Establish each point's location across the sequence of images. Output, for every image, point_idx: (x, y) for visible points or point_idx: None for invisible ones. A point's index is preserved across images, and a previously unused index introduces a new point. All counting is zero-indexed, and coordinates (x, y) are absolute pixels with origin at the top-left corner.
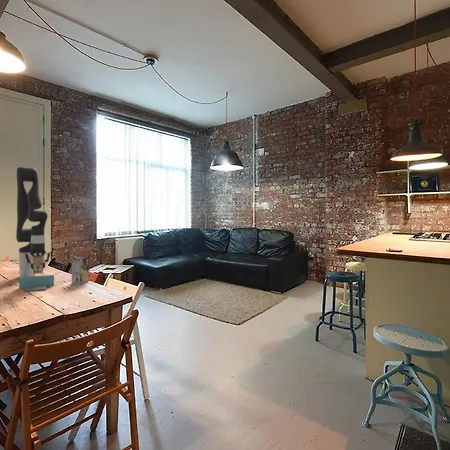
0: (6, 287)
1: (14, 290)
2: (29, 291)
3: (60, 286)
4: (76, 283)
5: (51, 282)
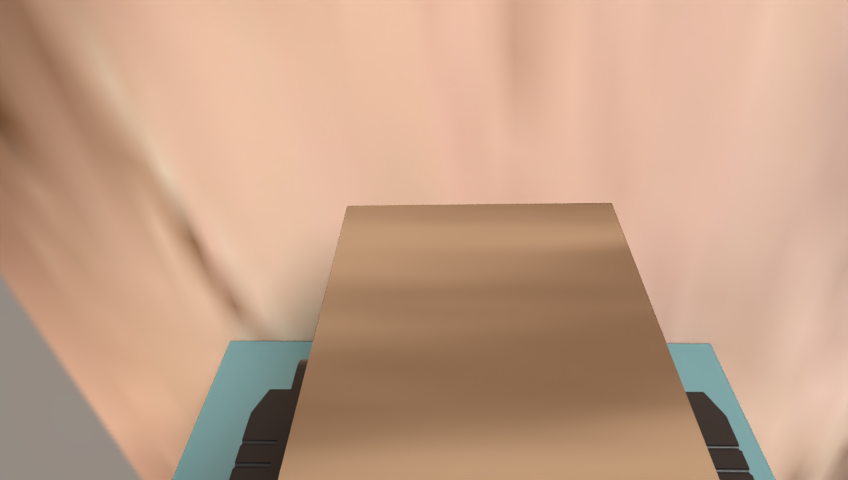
0: (5, 243)
1: None
2: None
3: (770, 432)
4: None
5: None
